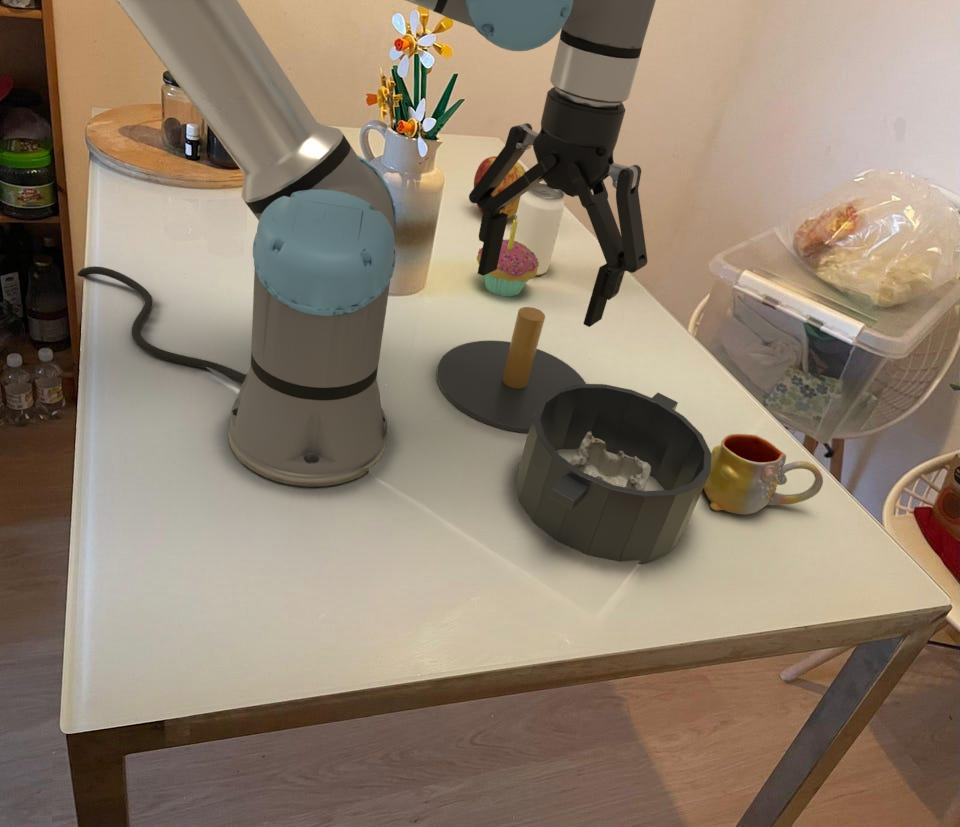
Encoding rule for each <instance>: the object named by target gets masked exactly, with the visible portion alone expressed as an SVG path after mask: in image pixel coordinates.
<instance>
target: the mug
mask: <svg viewBox="0 0 960 827" xmlns="http://www.w3.org/2000/svg"><path fill="white" fill-rule="evenodd" d="M711 454H712V455H711V472H710V474H709V477H708V479H707V481H706V483H705V486H704V488H703V491H704V493H705V495H706V497H707V499H708V501H710V505H709V506H710V509H712V510H713V511H717V512H718V511H725V512H727V513H729V514H736V515H742V516H743V515H744V516H747V515H754V514H755V513H756V514H757V513H758V512H759V511H760V510H762V509H763V508H764V507H766V506H783V505H784V506H785V505H795V504H798V503H802V502H805V501H808V500H809V499H811V498H813V497H815V496H816V495H817V494H818V493H819V492H820V491H821V489H822V488H823V484H824V478H823V475H822V472H821V471H820V469H819V468H818V466H816V465H815V464H813V463H811V462H808V461H804V460H798V461H793V462H789V463H787V464H786V461H787V454H786V453H785V452H784V451H781V450H780V449H779V448H778V447H776V446H775V444H773V443H772V442H770V441H769V440H767V439H765V438H763V437H761V436H759V435H756V434H749V433H731V434H728V435H726V436H725V437H723V438H722V440H721V442H720V444H718V445H715V446H714V447H713V448H712V450H711ZM793 470H807V471H809V472H811V473H812V474H813V477H814V480H813V482H812V484H811V485H810V487H808V489H806V490H804V491H802V492H799V493H792V494H791V493H789V494H784V493H779V492H777V487H778V486H783V485H786V483H787V482H788V478H787V476H786V473H788V472H790V471H793Z"/></svg>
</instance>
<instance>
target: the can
mask: <svg viewBox="0 0 960 827" xmlns="http://www.w3.org/2000/svg"><path fill="white" fill-rule="evenodd" d="M564 197H565V193H564V192H562V191H561V190H559V189H552V188H549V187H547V184H546V183H542V182H539V183H538V184H537V185H535V186H534V187H532V188H531V189H530V190H528V191H527V192H526V193H524V194H523V195H521V197H520V201H519V205H518V209H517V213H516V214H515V216H516V215H517V220H518V224H517V229H516V233H515V238H514V241H517V242H519V243H521V244H523V245H524V246H526V248H528V249H530V251H532V252H533V253H534V255H536V258H537V259H538V262H539V264H538V265H539V266H538V267H537V273H536V275H535V277H538V276H542V275H544V274H545V273H547V272H548V270H549V267H550V264H551V260H552V256H553V253H554V247H555V245H556V241H557V237H558V233H559V230H560V225H561V222H562V218H563V214H564V209H565V202H564Z"/></svg>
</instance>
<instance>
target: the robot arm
mask: <svg viewBox="0 0 960 827" xmlns="http://www.w3.org/2000/svg"><path fill="white" fill-rule="evenodd" d="M404 1H405V2H408V3H411V4H414V5H416V6H419V7H422V8H423V9H426V10H427V9H428V10H430V11H432V12H433V13H437V14H439V15H441V16H443V17H445V18H447V19H450V20H453V21H456V22H459V23H460V24H464V25H466V26H468V27H471V28H474V29H475V30H476V31H477V32H478V33H479V34H480V35H481V36H482V37H484V38H485V40H487V41H488V42H490V43H492V44H493V45H494V46H496V47H499V48H500V49H503V50H506V51H511V52H528V51H532V50H535V49H538V48H540V47H542V46H544V45H545V44H547V43H549V42H551V40H553V39H554V38H555V37H556V36H557V35H558V34H559V33H560V34H559V40H558V43H557V48H556V51H555V52H556V53H555V57H554V61H553V65H552V69H551V74H550V78H549V82H550V83H551V85H552V86H553V87H551V88H550V89H549V90H548V91H547V92H546V96H545V97H546V98H545V102H544V106H543V111H542V115H541V120H540V131H539V133H538V132H537V131H535V130H533V126H532V124H530V123H528V122H526V123H521V124H518V125H514V126H511V127H510V129H509V132H508V134H507V138H506V140H505V145H504V146H503V148H502V149H501V150H500V152H499V153H498V155H497V158H496V159H495V160H494V162H493V163H492V164H491V166H490V167H489V168H488V170H487V171H486V172H485V174H484V175H483V177H482V178H481V179H480V181H479V182H478V183H477V185H476V186H475V187H474V186H473V189H472V190H471V191H470V192H469V194H468V200H469V201H470V203H471V204H476V205H478V206H479V207H480V208H481V209H482V212H483V214H482V217H481V221H480V225H479V231H478V241H479V242H482V243H483V244H482V247H483V248H482V247H481V248H482V253H481V258H480V263H478V269H477V274H478V275H480V276H482V277H484V275H486V274H488V273H490V272H492V271H494V270H497V265H498V261H499V256H500V251H501V247H502V242H503V240H504V236H505V232H506V228H507V222H508V219H509V218H508V215H507V214H505V213H503V212H502V213H500V210H503V209H505V207H506V206H508V205H509V204H510V203H512V202H513V201H514V200H516V199H517V198H519V197H520V196H521V195H523V194H524V193H526V192H527V191H528V190H530V189H531V188H532V187H534V186H535V185H537V184H538V183H542V181H544V182H545V183H544V184H547V187H549V188H552V189H559V190H561V191H562V192H563V193H564V195H567V196H568V197H572V198H575V197H578V199H579V201H580V204H581V206H582V207H583V208H584V209H585V210H586V212H587V215H588V217H589V220H590V223H591V226H592V229H593V231H594V233H595V236H596V239H597V241H598V244H599V247H600V249H601V252H602V255H603V257H604V260H605V262H606V263H605V264H603V265H601V266H599V268H598V271H597V274H596V278H595V281H594V285H593V289H592V292H591V296H590V299H589V303H588V306H587V309H586V313H585V317H584V320H583V323H582V324H583V325H584V326H586V327H588V328H591V327H592V326H593V325H595V324H597V323H598V322H599V321H600V320H602V318H603V316H604V312H605V309H606V306H607V302H608V301H610V300H612V299H614V298H615V297H616V296H617V295H618V294H619V292H620V288H621V286H622V282H623V280H624V276H625V272H628V273H631V274H633V273H635V272H637V271H639V270H641V269H642V268H643V267H645V266H647V264H648V254H647V246H646V240H645V238H646V237H645V231H644V224H643V218H642V208H641V202H640V194H639V187H640V182H641V176H642V168H641V166H640V165H639V164H632V165H630V166H627V165H624V164H620V163H617V162H614V151H615V147H616V145H617V142H618V139H619V136H620V132H621V128H622V125H623V121H624V117H625V114H626V107H625V105H624V103H623V102H626V101H627V100H628V99H629V98H630V95H631V91H632V87H633V85H634V84H633V83H634V80H635V76H636V73H637V69H638V65H639V61H640V58H641V54H642V49H643V45H644V42H645V39H646V35H647V32H648V27H649V24H650V21H651V17H652V15H653V11H654V8H655V5H656V1H657V0H404ZM116 3H118V5H119V6H120V7H121V9H122V10H123V12H124V13H125V14H126V16H127V17H128V18H129V19H130V21H131V23H132V24H133V25H134V26H135V28H136V29H137V30H138V32H139V34H140V35H141V36H142V38H144V40H145V41H146V43H147V44H148V45H149V47H150V48H151V50H152V51H153V53H154V54H155V55H156V56H157V58H158V59H159V61H160V62H161V63H162V64H163V66H164V67H165V68H166V70H167V71H168V73H169V74H170V76H171V77H172V78H173V80H174V81H175V82H176V84H177V85H178V87H179V88H180V89H181V90H182V92H183V93H184V94H185V96H186V97H187V99H188V100H189V101H190V103H191V104H192V105H193V107H194V108H195V109H196V111H197V113H198V114H199V115H200V117H202V119H203V121H204V122H205V123H206V124H207V126H208V127H209V129H210V130H211V131H212V133H213V134H214V136H215V137H216V138H217V139H218V141H219V142H220V143H221V145H222V146H223V148H224V149H225V150H226V152H227V153H228V155H229V156H230V157H231V159H232V160H233V161H234V163H235V164H236V165H237V167H238V168H239V170H240V171H241V173H242V178H243V179H242V185H241V186H242V187H241V196H240V197H241V199H242V201H243V202H244V203H245V204H246V206H247V207H248V208H249V210H250V211H251V212H252V214H253V215H254V216H255V218H256V220H257V221H258V222H257V226H256V227H257V228H256V233H255V235H254V238H253V242H252V244H253V245H252V258H253V267H254V270H253V272H254V275H253V296H252V297H253V298H252V322H251V324H252V325H251V345H250V346H251V348H250V349H251V352H250V354H251V355H250V367H249V369H248V371H247V373H243V372H241V371H238V370H236V369H233V368H231V367H228V366H225V365H223V364H219V363H217V362H213V361H210V360H205V359H203V358H202V359H201V358H197V357H192V356H187V355H183V354H179V353H175V352H171V351H169V350H168V351H167V350H165V349H162V348H159V347H157V346H155V345H153V344H151V343H150V342H148V341H147V340H146V339H144V338H143V336H142V334H141V329H142V326H143V325H144V323H145V321H146V319H147V318H148V317H149V315H150V313H151V311H152V308H153V305H154V304H153V302H154V300H153V296H152V294H150V292H149V291H148V290H147V289H146V288H145V287H144V286H142V284H140V283H139V282H137V281H136V280H134V279H132V278H131V277H129V276H128V275H126V274H123V273H121V272H119V271H117V270H114V269H111V268H108V267H104V266H95V265H94V266H86V267H84V268H81V269H80V270H79V271H78V272H77V274H76V275H77V276H78V277H81V278H83V277H87V276H90V275H101V276H106V277H109V278H112V279H115V280H117V281H118V282H121V283H122V284H124V285H126V286H128V287H130V289H132V290H134V291H135V292H137V293H138V294H139V295H140V296H141V297H142V298H143V301H144V303H143V307H142V309H141V310H140V312H139V313H138V315H137V316H136V318H135V319H134V321H133V323H132V325H131V337H132V339H133V341H134V342H135V344H136V345H137V346H138V347H140V348H141V349H142V350H143V351H145V352H146V353H148V354H149V355H151V356H154V357H157V358H160V359H162V360H166V361H169V362H173V363H176V364H181V365H186V366H190V367H195V368H199V369H203V370H207V371H210V370H213V371H216V372H218V373H220V374H222V375H224V376H226V377H229V378H231V379H233V380H235V381H237V382H240V383H242V384H241V387H240V389H239V392H238V394H237V397H236V399H235V400H234V402H233V405H232V407H231V410H230V413H229V416H228V443H229V447H230V448H231V451H232V452H233V454H234V455H235V457H236V459H238V460H239V461H240V462H241V463H242V464H243V465H244V466H245V467H246V468H248V469H249V470H251V471H252V472H254V473H256V474H257V475H259V476H262V477H263V478H266V479H268V480H272V481H274V482H277V483H281V484H285V485H290V486H296V487H297V486H298V487H309V488H310V487H311V488H314V487H315V488H316V487H327V486H335V485H340V484H344V483H348V482H350V481H353V480H356V479H358V478H360V477H362V476H364V475H366V474H367V473H368V472H369V470H370V469H371V468H372V467H374V466H375V465H376V464H377V463H378V462H379V460H380V459H381V457H382V456H383V454H384V452H385V449H386V445H387V444H386V443H387V439H388V433H389V431H388V429H389V428H390V425H388V424H391V423H390V422H391V420H389V423H388V422H387V418H386V414H385V411H384V409H383V407H382V403H381V394H380V389H379V384H378V379H377V378H378V370H379V361H380V355H381V348H382V342H383V334H384V328H385V320H386V314H387V307H388V300H389V293H390V286H391V285H390V284H391V279H392V277H393V276H394V271H395V266H396V249H395V244H396V243H395V242H396V241H395V231H396V226H397V214H396V213H397V212H396V206H395V205H394V198H393V196H392V192H391V190H390V188H389V186H388V183H387V181H386V180H385V178H384V176H383V175H382V174H381V173H380V171H379V170H378V169H377V168H376V167H375V166H374V165H373V164H372V163H371V162H370V161H368V160H366V159H365V158H364V157H362V156H360V155H358V154H357V153H356V152H355V150H354V149H353V147H352V145H351V144H350V142H349V141H348V139H347V137H346V136H345V135H344V133H343V131H341V129H340V128H338V127H333V126H328V125H325V124H321V123H320V122H318V121H317V120H316V119H315V117H314V115H313V114H312V113H311V111H310V110H309V108H308V106H307V105H306V103H305V102H304V100H303V99H302V97H301V96H300V94H299V92H298V91H297V89H296V88H295V87H294V85H293V83H292V82H291V81H290V79H289V77H288V76H287V74H286V73H285V71H284V69H283V68H282V66H281V65H280V63H279V62H278V60H277V59H276V57H275V56H274V54H273V53H272V51H271V50H270V48H269V47H268V45H267V44H266V42H265V40H264V39H263V38H262V36H261V34H260V33H259V31H258V30H257V28H256V27H255V25H254V23H253V22H252V21H251V19H250V18H249V16H248V14H247V13H246V11H245V10H244V8H243V7H242V5H241V4H240V2H239V1H238V0H116ZM531 148H533V152H534V156H535V159H536V162H537V163H536V164H534V165H533V166H531V167H530V168H529V169H528V170H527V171H526V170H525V171H526V172H525V173H524V175H522V176H521V177H520V178H518V179H517V180H516V181H514V182H513V183H512V184H510V185H509V186H508V187H506V188H505V189H504V190H502V191H501V192H500V193H498V194H497V195H496V196H494V197H493V196H492V194H493V193H494V191H495V190H496V189H497V187H498V186H499V185H500V183H501V182H502V181H503V180H504V178H505V177H506V176H507V174H508V173H509V172H510V170H511V169H512V168H513V166H514V165H515V164H516V163H517V162H518V161H519V160H520V159H521V157H522V156H523V155H524V153H525V152H526V151H528V150H530V149H531ZM608 177H610V178H611V180H612V184H611V185H612V187H613V188H614V189H615V202H616V209H617V215H618V222H619V223H618V224H619V225H618V224H617V221H616V218H615V216H614V212H613V210H612V208H611V205H610V202H609V193H608V190H607V187H606V185H605V182H604V180H606V179H607V178H608ZM478 206H477V207H478ZM499 213H500V214H499ZM507 218H508V219H507ZM618 226H619V227H618ZM619 229H620V230H619ZM391 416H392V415H390V417H389V418H391ZM387 423H388V424H387Z"/></svg>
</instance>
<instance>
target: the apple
mask: <svg viewBox="0 0 960 827" xmlns="http://www.w3.org/2000/svg"><path fill="white" fill-rule="evenodd" d="M497 156H498V155H497ZM497 156H496V155H495V156H490V157H487V158H485V159H483V160H482V162H480V164H479V165H478V167H477V170H476V172H475V174H474V179H473V188H474V187H475V186H476V185H477V183H478V182H479V181H480V179H481V178H482V177H483V175H484V174H485V172H486V171H487V170H488V168H489V167H490V166H491V164H492V163H493V162H494V160H495V159H496V158H497ZM525 172H526V169H525V168H524V166H523V165H522V164H521V163H519V162H518V161H517V163H516V164H515V165H514V166H513V168H512V169H511V170H510V172H509V173H508V174H507V176H506V177H505V178H504V180H503V181H502V182H501V183H500V185H499V186H498V187H497V189H496V190H495V191H494V193H493V194H492V196H493V197H494V196H496V195H497V194H498V193H500V192H501V191H502V190H504V189H505V188H506V187H508V186H509V185H510V184H512V183H513V182H514V181H516V180H517V179H518V178H520V177H521V176H522V175H524V173H525ZM520 197H521V196H520ZM520 197H519V198H517V199H516V200H514V201H513V202H512V203H510V204H509V205H508V206H506V207H505V209H503V210H500V213H502V212H503V213H505V214H507V215H508V218H507V220H509V219H510V218H512V217H514V216H516V213H517V209H518V205H519V201H520ZM476 205H477V204H476ZM477 208H478V210H479V212H480V213H481V214H482V215H483V212H482V209H481V208H480V207H479V206H478V205H477ZM500 213H499V214H500Z"/></svg>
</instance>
